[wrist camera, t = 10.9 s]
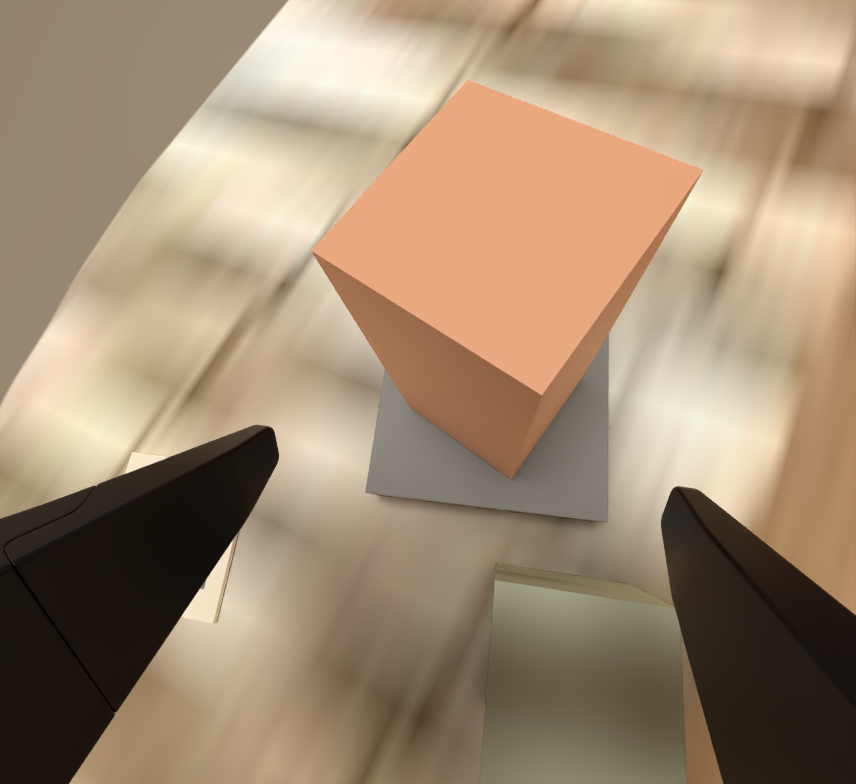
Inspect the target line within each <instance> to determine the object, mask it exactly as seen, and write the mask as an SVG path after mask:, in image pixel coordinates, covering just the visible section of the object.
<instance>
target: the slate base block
mask: <svg viewBox="0 0 856 784" xmlns="http://www.w3.org/2000/svg"><path fill="white" fill-rule="evenodd" d="M608 349H609V333H608V335H607V337H606V339H605V340H604V342H603V344H602V345H601V347H600V349H599V351H598V352H597V354H596V356H595V357H594V359H593V361H592V363H591V364H590V366H589V368H588V369H587V371H586V373H585V375H584V376H583V378H582V379H581V381H580V382H579V384H578V385H577V387H576V388H575V389H574V391H573V392H572V394H571V395H570V397H569V398H568V399H567V401H566V402H565V404H564V405H563V407H562V408H561V409H560V411H559V412H558V414H557V415H556V417H555V418H554V419H553V421H552V422H551V424H550V425H549V427H548V428H547V429H546V431H545V432H544V434H543V435H542V437H541V438H540V439H539V441H538V442H537V444H536V445H535V446H534V448H533V449H532V451H531V452H530V454H529V455H528V456H527V458H526V459H525V461H524V462H523V464H522V465H521V466H520V468H519V469H518V471H517V472H516V474H515V475H514V476H513V478H512V479H509V478H508V477H506V476H505V475H504V474H502V473H501V472H499V471H498V470H497V469H495V468H494V467H492V466H491V465H490V464H488V463H487V462H486V461H484V460H483V459H481V458H480V457H479V456H477V455H476V454H474V453H473V452H472V451H470V450H469V449H467V448H466V447H465V446H463V445H462V444H460V443H459V442H458V441H456V440H455V439H453V438H452V437H451V436H449V435H448V434H447V433H445V432H444V431H442V430H441V429H440V428H438V427H437V426H435V425H434V424H433V423H431V422H430V421H428V420H427V419H426V418H424V417H423V416H421V415H420V414H419V413H417V412H416V411H414V410H413V409H412V408H410V407H409V406H408V404H407V403H406V401H405V399H404V398H403V396H402V395H401V393H400V391H399V390H398V388H397V387H396V385H395V383H394V382H393V380H392V379H391V377H390V376H389V374H388V372H387V371H386V369H385V372H384V378H383V385H382V391H381V397H380V404H379V410H378V416H377V423H376V429H375V435H374V442H373V448H372V454H371V461H370V467H369V473H368V480H367V486H366V492H365V493H370V494H376V495H382V496H390V497H398V498H406V499H415V500H423V501H431V502H439V503H447V504H456V505H464V506H472V507H480V508H488V509H496V510H505V511H513V512H521V513H529V514H537V515H546V516H554V517H562V518H570V519H578V520H586V521H595V522H608Z"/></svg>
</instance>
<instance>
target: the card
mask: <svg viewBox="0 0 856 784" xmlns="http://www.w3.org/2000/svg"><path fill="white" fill-rule="evenodd" d="M166 458H168V457H165V456H157V455H149V454H141V453H134V452H132V454H131V457H130V460H129V463H128V466H127V469H126V473H129V472H131V471H134V470H137V469H139V468H142V467H145V466H147V465H150V464H153V463H155V462H158V461H161V460H163V459H166ZM126 473H125V474H126ZM237 536H238V533H237V535H236V536H235V538H234V539H233V541H232V542H231V544H230V545H229V547H228V548H227V550H226V551H225V553H224V554H223V556H222V557H221V559H220V560H219V561H218V563H217V564H216V566H215V567H214V569H213V570H212V572H211V573H210V575H209V576H208V578H207V579H206V581H205V582H204V584H203V585H202V587H201V588H200V590H199V591H198V593H197V594H196V596H195V597H194V599H193V600H192V601H191V603H190V604H189V606H188V607H187V609H186V610H185V612H184V613H183V615H182V616H181V617H183V618H188V619H193V620H197V621H202V622H207V623H211V624H214V623H216V622H217V619H218V614H219V610H220V606H221V602H222V598H223V594H224V590H225V586H226V581H227V577H228V573H229V569H230V565H231V561H232V557H233V553H234V548H235V544H236V540H237Z"/></svg>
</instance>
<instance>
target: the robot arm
mask: <svg viewBox="0 0 856 784" xmlns="http://www.w3.org/2000/svg"><path fill="white" fill-rule="evenodd" d="M278 460H279V452H278V447H277V442H276V437H275V432H274V430H273V428H271V427H269V426H263V425H253V426H251V427H248V428H245V429H243V430H240V431H237V432H235V433H232V434H229V435H227V436H224V437H221V438H219V439H216V440H214V441H211V442H208V443H206V444H203V445H200V446H198V447H195V448H192V449H190V450H187V451H184V452H182V453H179V454H176V455H174V456H171V457H168V458H166V459H163V460H161V461H158V462H155V463H153V464H150V465H147V466H145V467H142V468H139V469H137V470H134V471H131V472H129V473H126V474H123V475H121V476H118V477H116V478H113V479H110V480H108V481H105V482H102V483H100V484H98V485H97V486H91V487H89V488H86V489H84V490H81V491H78V492H76V493H73V494H70V495H67V496H65V497H62V498H59V499H56V500H54V501H51V502H48V503H45V504H43V505H40V506H37V507H34V508H31V509H28V510H25V511H22V512H19V513H16V514H13V515H10V516H7V517H4V518H1V519H0V784H69V783H70V781H71V780H72V778H73V777H74V775H75V774H76V772H77V771H78V769H79V768H80V766H81V765H82V763H83V762H84V760H85V759H86V757H87V756H88V755H89V753H90V752H91V750H92V749H93V747H94V746H95V744H96V743H97V741H98V740H99V738H100V737H101V735H102V734H103V732H104V731H105V729H106V728H107V726H108V725H109V723H110V722H111V720H112V719H113V718H114V716H115V712H117V711H118V710H119V708H120V707H121V705H122V704H123V702H124V701H125V699H126V698H127V696H128V695H129V693H130V692H131V690H132V689H133V687H134V686H135V684H136V683H137V681H138V680H139V679H140V677H141V676H142V674H143V673H144V671H145V670H146V668H147V667H148V665H149V664H150V662H151V661H152V659H153V658H154V656H155V655H156V653H157V652H158V650H159V649H160V647H161V646H162V644H163V643H164V641H165V640H166V639H167V637H168V636H169V634H170V633H171V631H172V630H173V628H174V627H175V625H176V624H177V622H178V621H179V619H180V618H181V616H182V615H183V613H184V612H185V610H186V609H187V607H188V606H189V604H190V603H191V601H192V600H193V599H194V597H195V596H196V594H197V593H198V591H199V590H200V588H201V587H202V585H203V584H204V582H205V581H206V579H207V578H208V576H209V575H210V573H211V572H212V570H213V569H214V567H215V566H216V564H217V563H218V561H219V560H220V559H221V557H222V556H223V554H224V553H225V551H226V550H227V548H228V547H229V545H230V544H231V542H232V541H233V539H234V538H235V536H236V535H237V533H238V532H239V530H240V529H241V527H242V526H243V524H244V523H245V521H246V520H247V518H248V517H249V515H250V513H251V512H252V510H253V508H254V506H255V504H256V503H257V501H258V499H259V497H260V495H261V493H262V491H263V490H264V488H265V486H266V484H267V482H268V480H269V478H270V476H271V475H272V473H273V471H274V469H275V467H276V465H277V463H278ZM661 529H662V536H663V542H664V549H665V555H666V562H667V569H668V575H669V582H670V588H671V594H672V599H673V603H674V607H675V611H676V615H677V618H678V622H679V625H680V629H681V633H682V636H683V640H684V643H685V647H686V651H687V654H688V658H689V661H690V665H691V669H692V672H693V676H694V679H695V683H696V687H697V690H698V694H699V697H700V701H701V705H702V708H703V712H704V716H705V719H706V723H707V726H708V730H709V734H710V737H711V741H712V744H713V748H714V752H715V755H716V759H717V762H718V766H719V770H720V773H721V777H722V780H723V784H856V615H855V614H854V613H852V612H851V611H850V610H849V609H847V608H846V607H845V606H844V605H842V604H841V603H840V602H839V601H837V600H836V599H835V598H833V597H832V596H831V595H830V594H828V593H827V592H826V591H825V590H823V589H822V588H821V587H820V586H818V585H817V584H816V583H815V582H813V581H812V580H811V579H810V578H808V577H807V576H806V575H805V574H803V573H802V572H801V571H800V570H798V569H797V568H796V567H795V566H793V565H792V564H791V563H790V562H788V561H787V560H786V559H785V558H783V557H782V556H781V555H780V554H778V553H777V552H776V551H775V550H773V549H772V548H771V547H770V546H768V545H767V544H766V543H765V542H763V541H762V540H761V539H760V538H758V537H757V536H756V535H755V534H753V533H752V532H751V531H750V530H748V529H747V528H746V527H745V526H743V525H742V524H741V523H740V522H738V521H737V520H736V519H735V518H733V517H732V516H731V515H730V514H728V513H727V512H726V511H725V510H723V509H722V508H721V507H719V506H718V505H717V504H716V503H714V502H713V501H712V500H711V499H709V498H708V497H707V496H706V495H704V494H703V493H702V492H701V491H699V490H697V489H694V488H687V487H680V486H677V487H674V488H673V489H672V491H671V493H670V496H669V498H668V501H667V504H666V507H665V509H664V512H663V515H662V519H661Z"/></svg>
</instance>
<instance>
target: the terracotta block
mask: <svg viewBox="0 0 856 784" xmlns="http://www.w3.org/2000/svg"><path fill="white" fill-rule="evenodd" d="M702 172H703V170H702V169H699V168H697V167H694V166H691V165H689V164H686V163H683V162H681V161H678V160H676V159H673V158H670V157H668V156H665V155H663V154H660V153H657V152H655V151H652V150H649V149H647V148H644V147H642V146H639V145H636V144H634V143H631V142H629V141H626V140H623V139H621V138H618V137H615V136H613V135H610V134H608V133H605V132H602V131H600V130H597V129H594V128H592V127H589V126H587V125H584V124H581V123H579V122H576V121H574V120H571V119H568V118H566V117H563V116H560V115H558V114H555V113H553V112H550V111H547V110H545V109H542V108H540V107H537V106H534V105H532V104H529V103H526V102H524V101H521V100H519V99H516V98H513V97H511V96H508V95H506V94H503V93H500V92H498V91H495V90H492V89H490V88H487V87H485V86H482V85H479V84H477V83H474V82H471V81H469V80H467V81H466V83H465V84H464V85H463V86H462V87H461V88H460V89H459V90H458V91H457V92H456V93H455V95H454V96H453V97H452V98H451V99H450V100H449V101H448V102H447V103H446V104H445V105H444V107H443V108H442V109H441V110H440V111H439V112H438V113H437V114H436V115H435V116H434V117H433V118H432V120H431V121H430V122H429V123H428V124H427V125H426V126H425V127H424V128H423V129H422V130H421V132H420V133H419V134H418V135H417V136H416V137H415V138H414V139H413V140H412V141H411V142H410V144H409V145H408V146H407V147H406V148H405V149H404V150H403V151H402V152H401V153H400V154H399V155H398V157H397V158H396V159H395V160H394V161H393V162H392V163H391V164H390V165H389V166H388V167H387V169H386V170H385V171H384V172H383V173H382V174H381V175H380V176H379V177H378V178H377V179H376V181H375V182H374V183H373V184H372V185H371V186H370V187H369V188H368V189H367V190H366V191H365V192H364V194H363V195H362V196H361V197H360V198H359V199H358V200H357V201H356V202H355V203H354V204H353V206H352V207H351V208H350V209H349V210H348V211H347V212H346V213H345V214H344V215H343V216H342V218H341V219H340V220H339V221H338V222H337V223H336V224H335V225H334V226H333V227H332V228H331V229H330V231H329V232H328V233H327V234H326V235H325V236H324V237H323V238H322V239H321V240H320V241H319V243H318V244H317V245H316V246H315V247H314V248H313V249H312V250H311V251H312V253H313V255H314V256H315V258H316V259H317V261H318V262H319V264H320V266H321V267H322V269H323V270H324V272H325V274H326V275H327V277H328V278H329V280H330V282H331V283H332V285H333V286H334V288H335V290H336V291H337V293H338V294H339V296H340V298H341V299H342V301H343V302H344V304H345V305H346V307H347V309H348V310H349V312H350V313H351V315H352V317H353V318H354V320H355V321H356V323H357V325H358V326H359V328H360V329H361V331H362V333H363V334H364V336H365V337H366V339H367V341H368V342H369V344H370V345H371V347H372V348H373V350H374V352H375V353H376V355H377V356H378V358H379V360H380V361H381V363H382V364H383V366H384V368H385V369H386V371H387V372H388V374H389V376H390V377H391V379H392V380H393V382H394V383H395V385H396V387H397V388H398V390H399V391H400V393H401V395H402V396H403V398H404V399H405V401H406V403H407V404H408V406H409V407H410V408H412V409H413V410H414V411H416V412H417V413H419V414H420V415H421V416H423V417H424V418H426V419H427V420H428V421H430V422H431V423H433V424H434V425H435V426H437V427H438V428H440V429H441V430H442V431H444V432H445V433H447V434H448V435H449V436H451V437H452V438H453V439H455V440H456V441H458V442H459V443H460V444H462V445H463V446H465V447H466V448H467V449H469V450H470V451H472V452H473V453H474V454H476V455H477V456H479V457H480V458H481V459H483V460H484V461H486V462H487V463H488V464H490V465H491V466H492V467H494V468H495V469H497V470H498V471H499V472H501V473H502V474H504V475H505V476H506V477H508V478H509V479H512V478H513V476H514V475H515V474H516V472H517V471H518V469H519V468H520V466H521V465H522V464H523V462H524V461H525V459H526V458H527V456H528V455H529V454H530V452H531V451H532V449H533V448H534V446H535V445H536V444H537V442H538V441H539V439H540V438H541V437H542V435H543V434H544V432H545V431H546V429H547V428H548V427H549V425H550V424H551V422H552V421H553V419H554V418H555V417H556V415H557V414H558V412H559V411H560V409H561V408H562V407H563V405H564V404H565V402H566V401H567V399H568V398H569V397H570V395H571V394H572V392H573V391H574V389H575V388H576V387H577V385H578V384H579V382H580V381H581V379H582V378H583V376H584V375H585V373H586V371H587V369H588V368H589V366H590V364H591V363H592V361H593V359H594V357H595V356H596V354H597V352H598V351H599V349H600V347H601V345H602V344H603V342H604V340H605V339H606V337H607V335H608V333H609V332H610V330H611V328H612V326H613V325H614V323H615V321H616V320H617V318H618V316H619V314H620V313H621V311H622V309H623V308H624V306H625V304H626V302H627V301H628V299H629V297H630V296H631V294H632V292H633V290H634V289H635V287H636V285H637V283H638V282H639V280H640V278H641V277H642V275H643V273H644V271H645V270H646V268H647V266H648V265H649V263H650V261H651V259H652V258H653V256H654V254H655V253H656V251H657V249H658V247H659V246H660V244H661V242H662V240H663V239H664V237H665V235H666V234H667V232H668V230H669V228H670V227H671V225H672V223H673V222H674V220H675V218H676V216H677V215H678V213H679V211H680V210H681V208H682V206H683V204H684V203H685V201H686V199H687V197H688V196H689V194H690V192H691V191H692V189H693V187H694V185H695V184H696V182H697V180H698V179H699V177H700V175H701V173H702Z"/></svg>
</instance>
